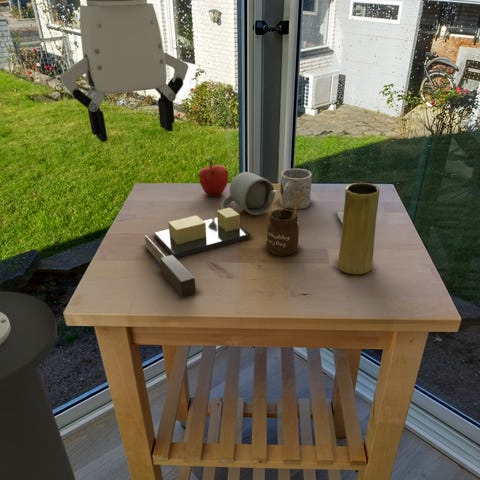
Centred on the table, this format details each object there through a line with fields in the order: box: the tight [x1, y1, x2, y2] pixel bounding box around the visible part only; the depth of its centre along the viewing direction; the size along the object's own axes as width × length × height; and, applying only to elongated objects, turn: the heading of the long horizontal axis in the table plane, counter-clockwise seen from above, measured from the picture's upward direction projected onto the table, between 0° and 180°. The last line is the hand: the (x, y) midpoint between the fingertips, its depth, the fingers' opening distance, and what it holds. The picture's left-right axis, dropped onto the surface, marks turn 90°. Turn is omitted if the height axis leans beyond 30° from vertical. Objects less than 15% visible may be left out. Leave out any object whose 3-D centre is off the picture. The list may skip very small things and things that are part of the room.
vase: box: [336, 182, 380, 275], centre depth 83 cm, size 6×6×14 cm
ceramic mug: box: [220, 171, 276, 216], centre depth 106 cm, size 11×8×8 cm
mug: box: [279, 167, 313, 210], centre depth 108 cm, size 10×7×7 cm, turn 153°
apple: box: [198, 154, 229, 197], centre depth 112 cm, size 8×7×10 cm
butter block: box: [168, 215, 206, 244], centre depth 95 cm, size 6×4×3 cm, turn 119°
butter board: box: [154, 217, 251, 259], centre depth 97 cm, size 16×10×1 cm, turn 119°
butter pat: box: [216, 207, 241, 232], centre depth 98 cm, size 3×4×3 cm
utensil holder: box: [266, 189, 303, 257], centre depth 90 cm, size 6×6×12 cm
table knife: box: [144, 234, 197, 298], centre depth 87 cm, size 2×19×3 cm, turn 30°
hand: (135, 134), depth 70 cm, fingers open, 9 cm apart
